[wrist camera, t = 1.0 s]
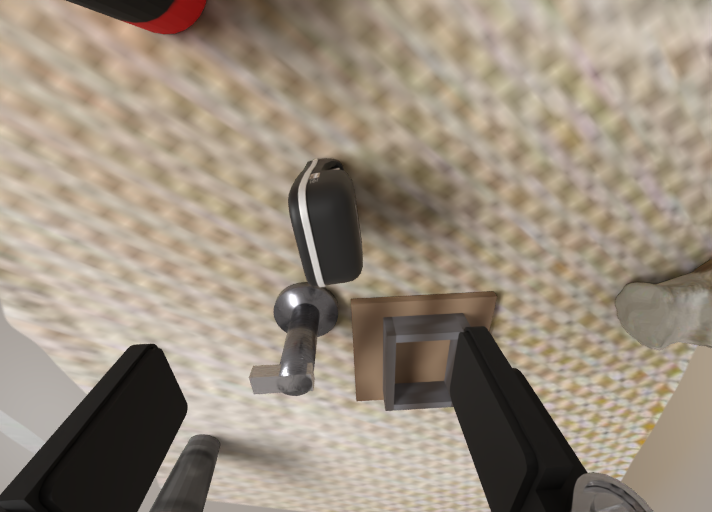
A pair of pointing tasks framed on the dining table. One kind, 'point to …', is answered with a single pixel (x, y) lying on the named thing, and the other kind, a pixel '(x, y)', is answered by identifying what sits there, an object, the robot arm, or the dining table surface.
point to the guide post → (297, 339)
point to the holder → (412, 345)
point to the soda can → (150, 12)
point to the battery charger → (326, 223)
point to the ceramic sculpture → (669, 310)
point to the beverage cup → (189, 477)
